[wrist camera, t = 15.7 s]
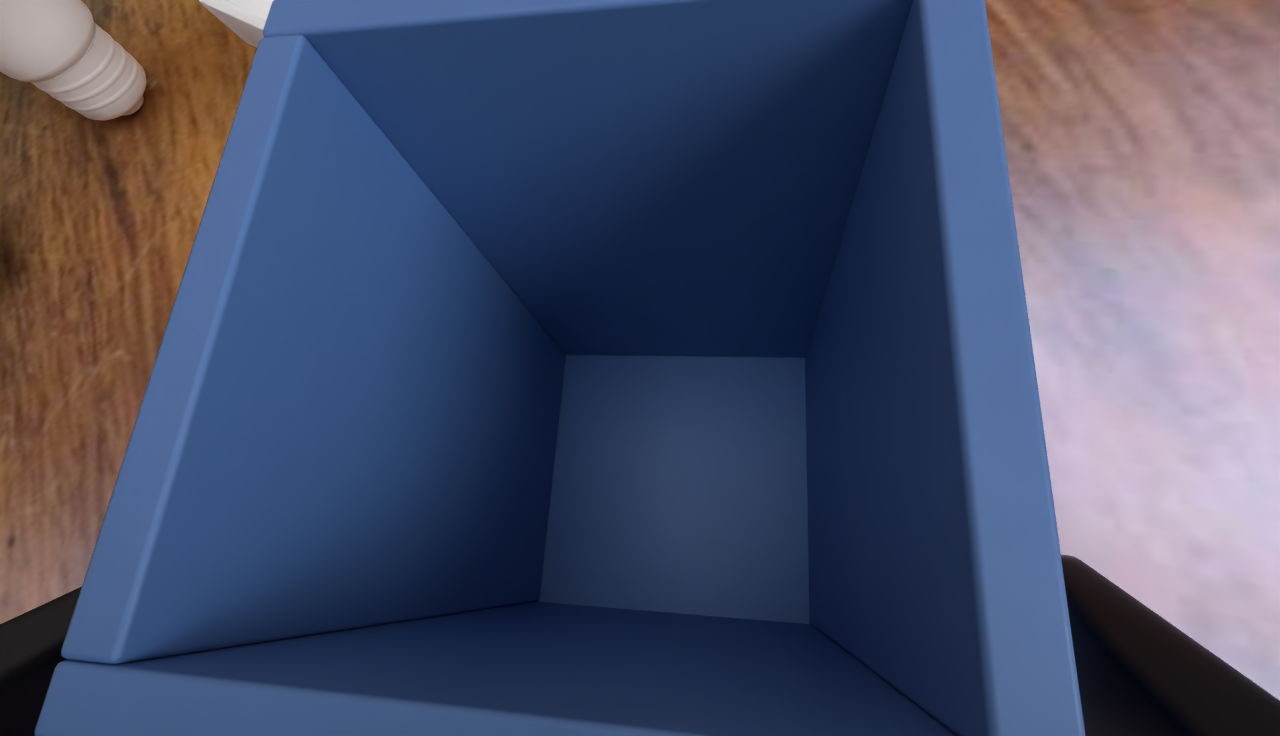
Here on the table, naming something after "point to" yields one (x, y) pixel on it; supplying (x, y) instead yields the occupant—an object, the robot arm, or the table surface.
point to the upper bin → (591, 391)
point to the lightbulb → (69, 57)
